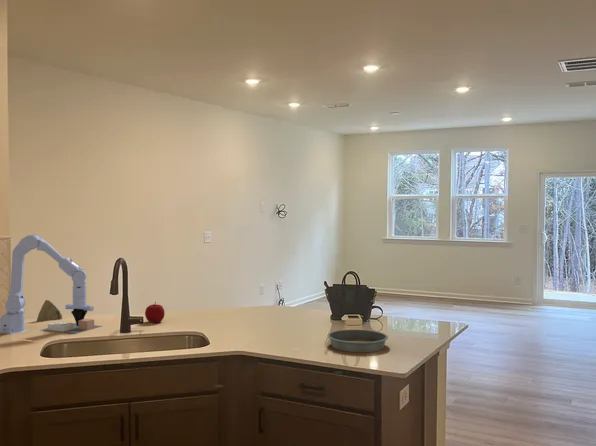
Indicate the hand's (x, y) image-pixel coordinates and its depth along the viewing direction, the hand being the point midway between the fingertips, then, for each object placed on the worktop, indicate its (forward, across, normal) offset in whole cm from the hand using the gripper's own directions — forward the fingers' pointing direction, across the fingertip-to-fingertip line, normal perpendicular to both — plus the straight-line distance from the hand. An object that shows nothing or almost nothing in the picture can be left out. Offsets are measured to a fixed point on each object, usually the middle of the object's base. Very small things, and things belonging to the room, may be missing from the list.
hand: (79, 325), depth 255 cm
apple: (+2, -22, -27) cm, 35 cm away
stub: (+1, -4, 0) cm, 4 cm away
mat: (+2, +3, +2) cm, 4 cm away
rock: (+2, +28, -10) cm, 29 cm away
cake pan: (+2, -126, -19) cm, 127 cm away
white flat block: (+1, +6, +6) cm, 8 cm away
